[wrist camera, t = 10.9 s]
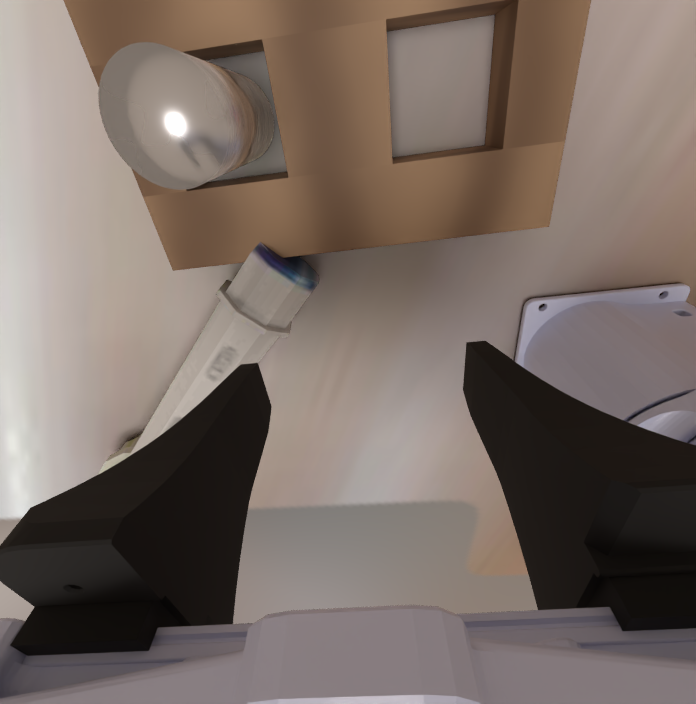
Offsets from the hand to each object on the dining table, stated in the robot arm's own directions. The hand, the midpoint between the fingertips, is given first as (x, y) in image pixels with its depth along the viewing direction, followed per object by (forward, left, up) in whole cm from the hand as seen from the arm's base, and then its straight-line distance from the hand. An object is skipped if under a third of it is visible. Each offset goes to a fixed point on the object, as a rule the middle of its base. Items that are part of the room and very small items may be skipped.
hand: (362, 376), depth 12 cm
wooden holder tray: (0, -8, -10) cm, 13 cm away
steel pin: (+5, -8, -10) cm, 14 cm away
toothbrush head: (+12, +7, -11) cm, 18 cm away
